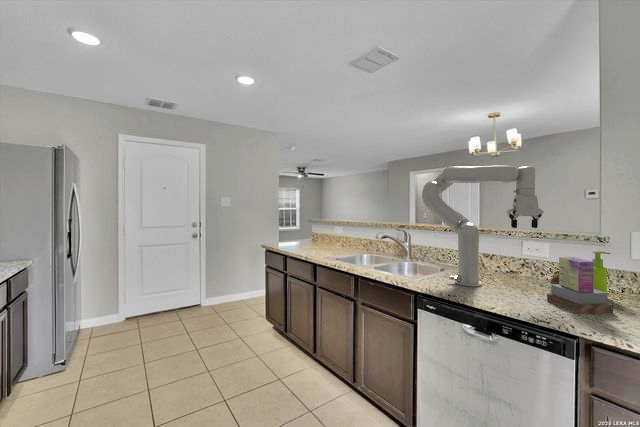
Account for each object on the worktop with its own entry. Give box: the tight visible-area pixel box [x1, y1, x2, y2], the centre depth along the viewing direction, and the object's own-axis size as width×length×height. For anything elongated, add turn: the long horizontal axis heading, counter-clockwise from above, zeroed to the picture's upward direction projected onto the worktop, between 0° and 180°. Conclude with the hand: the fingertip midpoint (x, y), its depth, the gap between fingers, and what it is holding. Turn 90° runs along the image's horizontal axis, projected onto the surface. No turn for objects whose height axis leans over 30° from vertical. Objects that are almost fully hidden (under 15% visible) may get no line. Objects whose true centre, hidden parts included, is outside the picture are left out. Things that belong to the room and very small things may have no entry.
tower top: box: [550, 283, 609, 304], centre depth 117 cm, size 11×13×4 cm
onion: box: [549, 270, 559, 285], centre depth 145 cm, size 8×8×8 cm
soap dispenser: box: [592, 250, 612, 293], centre depth 128 cm, size 6×7×20 cm
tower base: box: [546, 292, 614, 315], centre depth 117 cm, size 13×15×4 cm
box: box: [558, 256, 594, 292], centre depth 117 cm, size 10×6×12 cm, turn 174°
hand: (524, 227), depth 143 cm, fingers open, 9 cm apart
